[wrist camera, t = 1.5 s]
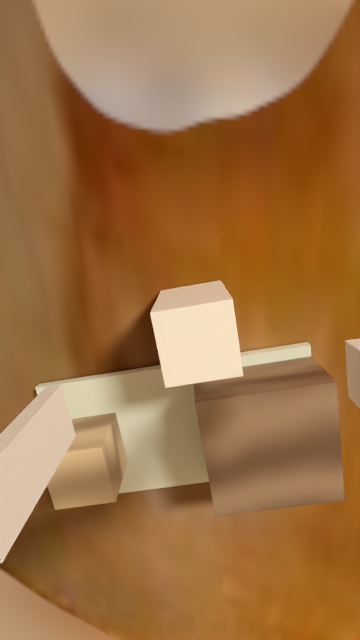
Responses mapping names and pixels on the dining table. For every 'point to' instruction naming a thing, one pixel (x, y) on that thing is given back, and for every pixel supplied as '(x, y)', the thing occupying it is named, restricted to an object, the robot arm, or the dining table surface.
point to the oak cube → (90, 464)
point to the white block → (196, 334)
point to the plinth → (271, 437)
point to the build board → (155, 418)
